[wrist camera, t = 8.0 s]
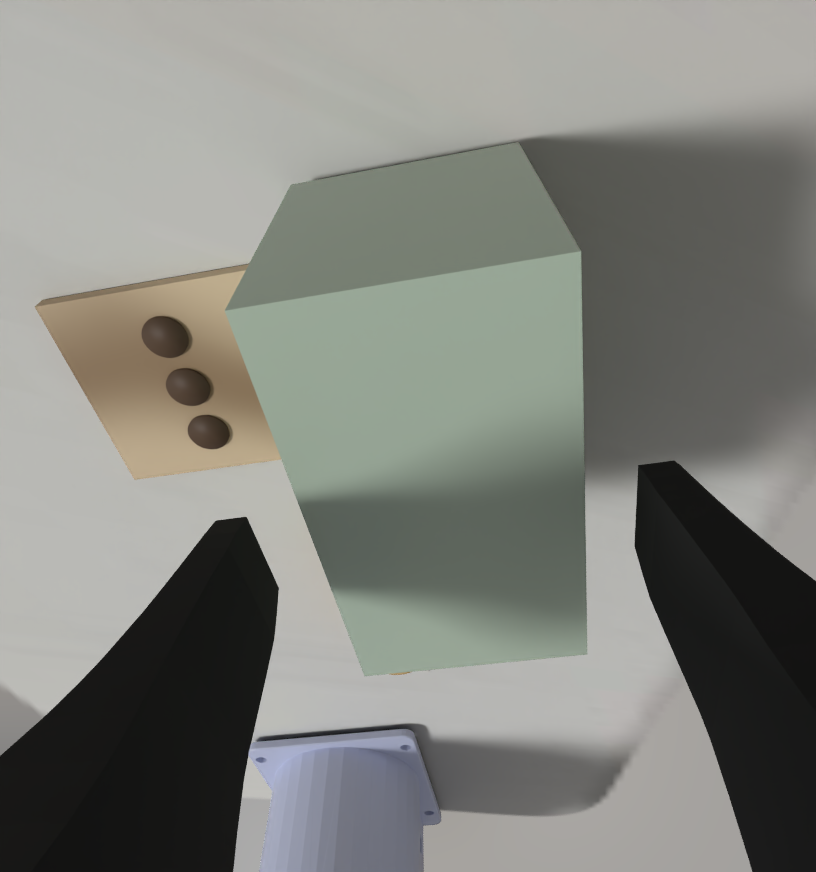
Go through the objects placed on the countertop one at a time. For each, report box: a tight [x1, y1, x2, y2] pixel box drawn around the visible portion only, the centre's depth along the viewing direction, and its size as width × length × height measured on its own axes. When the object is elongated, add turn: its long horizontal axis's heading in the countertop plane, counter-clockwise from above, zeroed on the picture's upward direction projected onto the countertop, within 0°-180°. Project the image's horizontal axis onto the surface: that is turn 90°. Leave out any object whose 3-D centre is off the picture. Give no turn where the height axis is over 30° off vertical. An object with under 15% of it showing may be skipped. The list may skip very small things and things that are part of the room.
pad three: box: [35, 264, 281, 480], centre depth 18 cm, size 6×6×1 cm
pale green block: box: [225, 142, 587, 676], centre depth 15 cm, size 10×5×6 cm, turn 10°
